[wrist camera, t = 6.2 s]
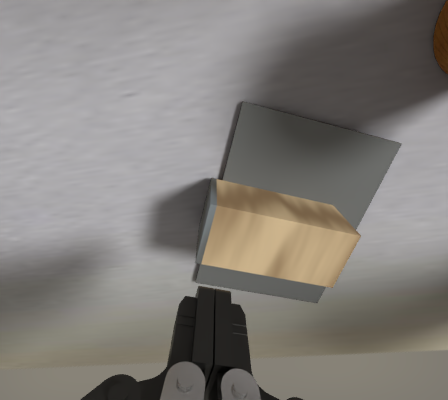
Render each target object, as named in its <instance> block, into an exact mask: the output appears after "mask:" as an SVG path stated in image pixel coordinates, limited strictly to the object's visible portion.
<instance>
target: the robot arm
mask: <svg viewBox="0 0 448 400" xmlns="http://www.w3.org/2000/svg"><path fill="white" fill-rule="evenodd" d="M81 400H279V399H277V398H275V397H273V396H271V395H269V394H268V393H266V392H264V391H263V390H262V389H261V388H260V387H259V386H258V384H257V382H256V380H255V379H254V377H253V375H252V371H251V364H250V354H249V345H248V336H247V328H246V318H245V314H244V312H243V310H242V308H241V306H240V305H237V304H231V292H230V291H225V290H220V289H213V288H207V287H202V286H198V289H197V293H196V297H189V296H185V297H184V299H183V300H182V301H181V303H180V304H179V308H178V312H177V316H176V321H175V325H174V330H173V336H172V341H171V347H170V353H169V358H168V364H167V367H166V369H165V370H164V371H163V372H162V373H161V374H160V375H158V376H156V377H155V378H152V379H149V380H144V381H140V382H137V381H136V380H135V379H134V378H133V377H131V376H128V375H124V374H120V375H115V376H112V377H110V378H108V379H106V380H105V381H104V382H102V383H101V384H100V385H99V386H97V387H96V388H95V389H94V390H92V391H91V392H90V393H88V394H87V395H86V396H85V397H83V398H82V399H81ZM287 400H303V399H300V398H297V397H292V398H289V399H287Z"/></svg>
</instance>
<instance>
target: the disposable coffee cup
mask: <svg viewBox="0 0 448 400" xmlns="http://www.w3.org/2000/svg"><path fill="white" fill-rule="evenodd" d="M434 54H435V58H436V60H437V62H438V64H439V66H440V67H441V68H442V70H443V71H444V72H445V73H446V74H448V0H447V1H446V2H445V4H444V6H443V8H442V10H441V12H440V14H439V17H438V20H437V23H436V26H435V32H434Z"/></svg>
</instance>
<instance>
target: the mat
mask: <svg viewBox="0 0 448 400" xmlns="http://www.w3.org/2000/svg"><path fill="white" fill-rule="evenodd" d="M400 146H401V143H398V142H394V141H391V140H387V139H383V138H379V137H375V136H372V135H368V134H364V133H360V132H357V131H353V130H349V129H345V128H341V127H338V126H334V125H330V124H326V123H323V122H319V121H315V120H311V119H307V118H304V117H300V116H296V115H292V114H289V113H285V112H281V111H277V110H273V109H270V108H266V107H262V106H258V105H255V104H251V103H247V102H242V106H241V109H240V113H239V117H238V121H237V125H236V129H235V132H234V136H233V140H232V144H231V148H230V151H229V155H228V159H227V163H226V167H225V171H224V174H223V178H222V180H223V181H228V182H232V183H237V184H241V185H246V186H250V187H254V188H259V189H263V190H268V191H272V192H277V193H281V194H286V195H290V196H294V197H299V198H303V199H308V200H312V201H317V202H321V203H326V204H330V205H333V206H334V207H335V208H336V209H337V210H338V211H339V212H340V213H341V214H342V216H343V217H344V218H345V219H346V220H347V221H348V222H349V223H350V224H351V226H352V227H353V228H354V229H355V230H356V229H357V227H358V225H359V223H360V222H361V220H362V218H363V216H364V214H365V212H366V210H367V208H368V206H369V205H370V203H371V201H372V199H373V197H374V195H375V193H376V191H377V189H378V188H379V186H380V184H381V182H382V180H383V178H384V176H385V174H386V173H387V171H388V169H389V167H390V165H391V163H392V161H393V159H394V157H395V156H396V154H397V152H398V150H399V148H400ZM196 283H200V284H206V285H212V286H218V287H224V288H230V289H236V290H242V291H248V292H254V293H260V294H266V295H272V296H278V297H284V298H290V299H296V300H302V301H307V302H313V303H318V301H319V299H320V297H321V295H322V293H323V291H324V289H325V286H320V285H314V284H309V283H303V282H298V281H292V280H286V279H281V278H275V277H270V276H264V275H259V274H253V273H248V272H242V271H237V270H231V269H225V268H220V267H214V266H209V265H203V264H200V266H199V270H198V273H197V277H196Z"/></svg>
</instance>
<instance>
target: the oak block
mask: <svg viewBox="0 0 448 400" xmlns="http://www.w3.org/2000/svg"><path fill="white" fill-rule="evenodd" d="M360 237H361V235H360V234H359V233H358V232H357V231H356V230H355V229H354V228H353V227H352V226H351V224H350V223H349V222H348V221H347V220H346V219H345V218H344V217H343V216H342V214H341V213H340V212H339V211H338V210H337V209H336V208H335V207H334V206H333V205H330V204H326V203H321V202H317V201H312V200H308V199H303V198H299V197H294V196H290V195H286V194H281V193H277V192H272V191H268V190H263V189H259V188H254V187H250V186H246V185H241V184H237V183H232V182H228V181H223V180H219V179H214V178H211V181H210V185H209V189H208V193H207V197H206V202H205V206H204V210H203V214H202V218H201V222H200V226H199V233H198V242H197V252H196V262H195V263H198V264H203V265H209V266H214V267H220V268H225V269H231V270H237V271H242V272H248V273H253V274H259V275H264V276H270V277H275V278H281V279H286V280H292V281H298V282H303V283H309V284H314V285H320V286H325V287H331V288H333V286H334V284H335V282H336V281H337V279H338V277H339V275H340V273H341V271H342V270H343V268H344V266H345V264H346V262H347V261H348V259H349V257H350V255H351V253H352V251H353V250H354V248H355V246H356V244H357V242H358V240H359V239H360Z"/></svg>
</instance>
